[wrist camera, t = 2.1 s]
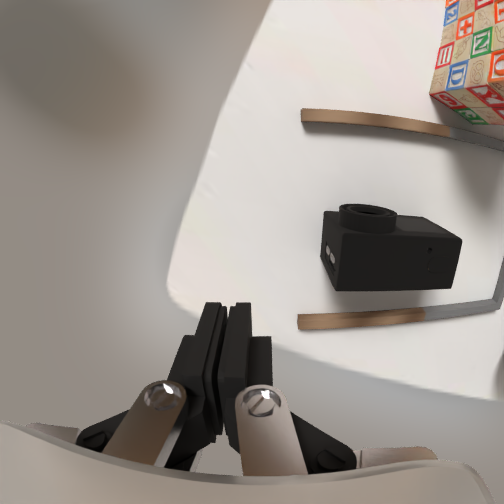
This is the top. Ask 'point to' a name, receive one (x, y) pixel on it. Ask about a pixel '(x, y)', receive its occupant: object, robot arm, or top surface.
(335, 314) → the shelf lane
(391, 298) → the top surface
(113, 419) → the robot arm
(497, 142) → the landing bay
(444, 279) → the digital camera
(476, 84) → the stack of blocks
